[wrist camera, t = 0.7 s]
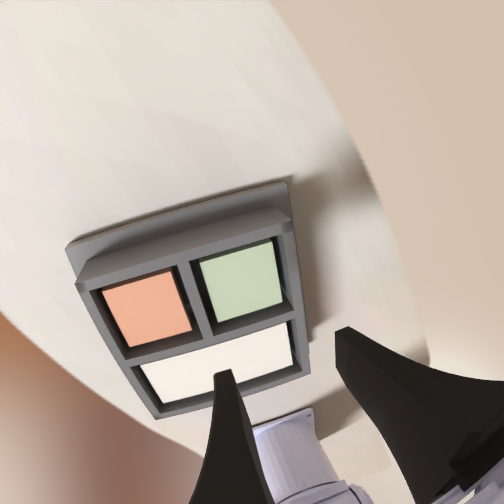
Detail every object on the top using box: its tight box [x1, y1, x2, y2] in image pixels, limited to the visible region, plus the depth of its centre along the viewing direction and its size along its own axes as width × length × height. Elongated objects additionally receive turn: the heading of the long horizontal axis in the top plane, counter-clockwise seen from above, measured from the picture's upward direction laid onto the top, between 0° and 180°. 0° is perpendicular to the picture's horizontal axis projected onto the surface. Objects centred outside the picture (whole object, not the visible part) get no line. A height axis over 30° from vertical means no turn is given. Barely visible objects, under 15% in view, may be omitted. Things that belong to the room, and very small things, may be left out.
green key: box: [198, 238, 282, 322], centre depth 18 cm, size 4×4×2 cm
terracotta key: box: [102, 266, 192, 347], centre depth 17 cm, size 4×4×2 cm
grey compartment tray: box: [65, 181, 311, 420], centre depth 19 cm, size 14×14×4 cm
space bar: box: [140, 322, 293, 403], centre depth 20 cm, size 4×10×2 cm, turn 102°
